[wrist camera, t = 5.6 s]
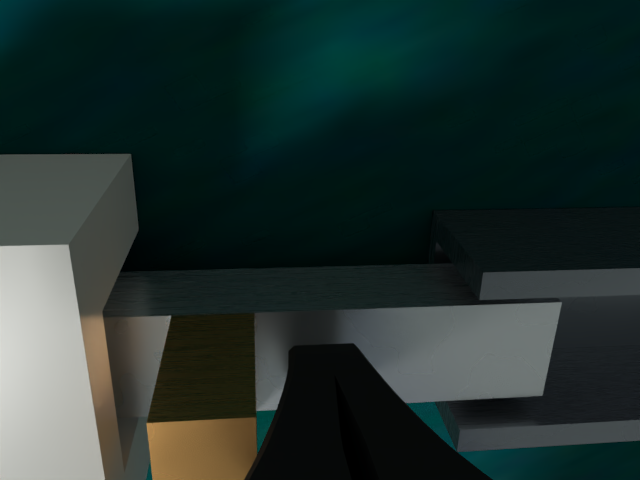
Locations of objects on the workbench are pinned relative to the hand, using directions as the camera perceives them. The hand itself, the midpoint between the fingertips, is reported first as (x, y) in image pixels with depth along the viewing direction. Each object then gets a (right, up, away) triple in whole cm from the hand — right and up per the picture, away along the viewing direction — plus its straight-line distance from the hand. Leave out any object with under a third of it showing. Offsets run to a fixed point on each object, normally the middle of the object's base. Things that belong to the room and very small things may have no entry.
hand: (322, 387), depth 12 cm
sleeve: (+7, +2, +4) cm, 8 cm away
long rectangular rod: (-1, +1, +3) cm, 3 cm away
